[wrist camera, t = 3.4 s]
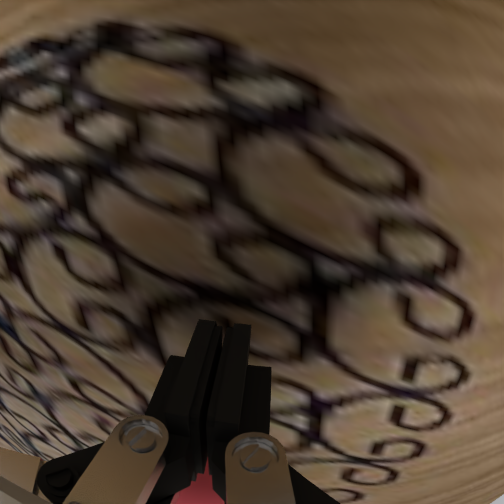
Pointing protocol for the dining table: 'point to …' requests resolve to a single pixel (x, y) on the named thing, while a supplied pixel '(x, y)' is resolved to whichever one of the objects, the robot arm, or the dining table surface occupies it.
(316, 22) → the dining table surface
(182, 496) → the ball
